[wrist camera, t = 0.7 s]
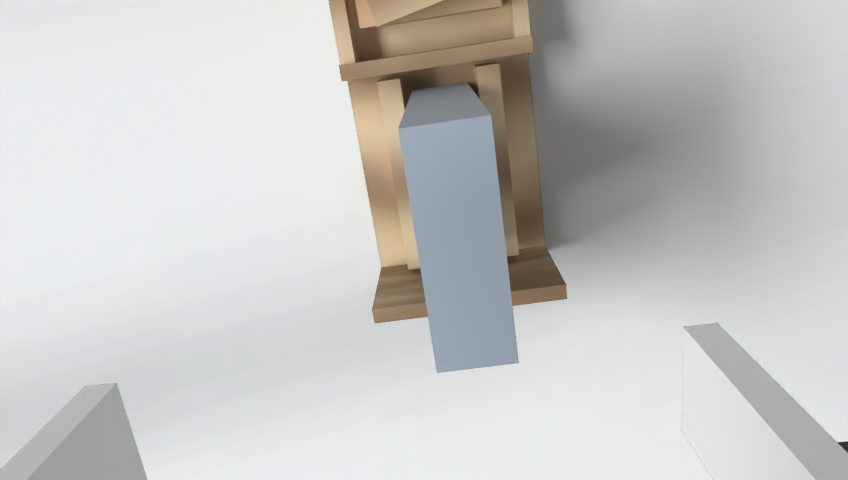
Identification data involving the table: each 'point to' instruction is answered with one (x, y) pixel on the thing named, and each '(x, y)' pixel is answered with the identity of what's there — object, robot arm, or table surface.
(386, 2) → the oak offcut top
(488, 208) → the grey panel
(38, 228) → the table surface
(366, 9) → the oak offcut low
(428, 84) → the oak rack
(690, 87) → the table surface
